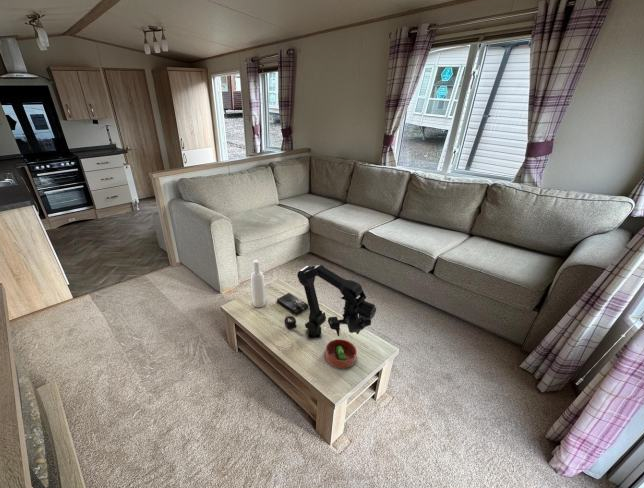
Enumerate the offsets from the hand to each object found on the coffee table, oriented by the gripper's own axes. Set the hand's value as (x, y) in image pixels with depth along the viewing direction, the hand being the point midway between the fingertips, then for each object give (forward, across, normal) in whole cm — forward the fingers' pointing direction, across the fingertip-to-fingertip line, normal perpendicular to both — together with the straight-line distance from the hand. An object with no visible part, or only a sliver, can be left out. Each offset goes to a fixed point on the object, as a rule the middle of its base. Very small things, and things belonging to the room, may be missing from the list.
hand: (347, 334), depth 142 cm
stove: (+12, -19, +41) cm, 47 cm away
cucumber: (+11, -3, -3) cm, 12 cm away
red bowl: (+12, -3, -3) cm, 12 cm away
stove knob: (+9, -16, +36) cm, 41 cm away
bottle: (+12, -39, +46) cm, 61 cm away
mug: (+12, -22, +20) cm, 32 cm away
